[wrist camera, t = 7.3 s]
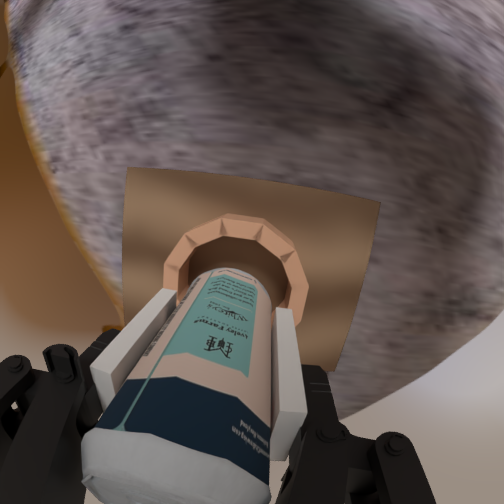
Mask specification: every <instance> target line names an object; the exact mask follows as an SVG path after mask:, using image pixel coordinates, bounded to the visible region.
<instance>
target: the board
mask: <svg viewBox="0 0 504 504" xmlns="http://www.w3.org/2000/svg"><path fill="white" fill-rule="evenodd" d="M380 203H381V202H378V201H373V200H369V199H365V198H360V197H355V196H351V195H346V194H341V193H336V192H331V191H326V190H321V189H315V188H310V187H304V186H299V185H293V184H287V183H280V182H274V181H267V180H261V179H253V178H246V177H238V176H230V175H222V174H213V173H203V172H193V171H182V170H169V169H155V168H137V167H127V176H126V186H125V198H124V213H123V236H122V283H123V306H124V321H125V327H126V326H127V325H128V323H129V322H130V321H131V320H132V319H133V318H134V317H135V316H136V315H137V314H138V313H139V312H140V311H141V310H142V309H143V308H144V307H145V305H146V304H147V303H148V302H149V301H150V300H151V299H152V298H153V297H154V296H155V295H156V294H157V293H158V292H159V291H160V290H161V289H162V288H163V275H164V263H165V261H166V260H167V258H168V257H169V255H170V254H171V252H172V251H173V249H174V248H175V246H176V245H177V244H178V242H179V241H180V239H181V238H182V236H183V235H184V233H186V232H188V231H189V230H191V229H193V228H194V227H196V226H198V225H201V224H203V223H205V222H208V221H210V220H213V219H215V218H217V217H220V216H222V215H225V214H227V213H229V214H237V215H244V216H250V217H257V218H264V219H265V220H266V221H268V222H269V223H270V224H272V225H273V226H274V227H275V228H277V229H278V230H279V231H280V232H282V233H283V234H284V235H285V236H287V237H288V238H289V239H290V240H292V242H293V244H294V247H295V249H296V252H297V254H298V257H299V260H300V263H301V265H302V268H303V271H304V274H305V276H306V279H307V282H308V285H309V289H308V293H307V297H306V302H305V306H304V310H303V314H302V319H301V322H300V323H299V324H298V325H297V326H296V327H295V331H296V338H297V344H298V350H299V357H300V363H301V364H306V365H319V366H320V367H321V368H322V369H323V370H324V371H335V368H336V366H337V363H338V360H339V357H340V355H341V352H342V349H343V346H344V343H345V340H346V337H347V334H348V331H349V328H350V325H351V322H352V319H353V316H354V313H355V309H356V306H357V302H358V299H359V295H360V292H361V288H362V285H363V281H364V277H365V273H366V269H367V265H368V261H369V257H370V253H371V248H372V244H373V239H374V234H375V230H376V225H377V219H378V214H379V208H380ZM217 268H234V269H239V270H241V271H243V272H246V273H248V274H250V275H252V276H253V277H254V278H256V279H257V280H258V281H259V282H260V283H261V284H262V285H263V286H264V288H265V289H266V291H267V293H268V295H269V297H270V300H271V305H272V312H273V311H274V310H275V309H276V307H278V306H279V305H280V304H281V303H282V302H283V300H284V299H285V294H286V289H287V284H288V276H287V274H286V271H285V268H284V266H283V263H282V261H281V260H280V259H279V258H278V257H277V256H275V255H274V254H273V253H272V252H270V251H269V250H268V249H266V248H265V247H264V246H263V245H261V244H260V243H259V242H257V241H256V240H250V239H244V238H237V237H230V236H221V237H219V238H216V239H214V240H211V241H209V242H206V243H204V244H202V245H200V246H199V247H198V249H197V250H196V251H195V253H194V254H193V255H192V257H191V258H190V261H189V275H188V285H189V287H190V285H191V284H192V282H193V281H194V280H195V279H196V278H197V277H198V276H199V275H201V274H203V273H204V272H207V271H210V270H212V269H217Z"/></svg>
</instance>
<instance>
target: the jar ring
mask: <svg viewBox="0 0 504 504" xmlns="http://www.w3.org/2000/svg"><path fill="white" fill-rule="evenodd" d="M221 236H230V237H237V238H244V239H250V240H256V241H257V242H259V243H260V244H261V245H263V246H264V247H265V248H266V249H268V250H269V251H270V252H272V253H273V254H274V255H275V256H277V257H278V258H279V259H280V260H281V261H282V263H283V266H284V268H285V271H286V274H287V276H288V284H287V289H286V294H285V299H284V300H283V302H282V303H281V304H280V305H279V306H278V307H279V308H286V309H292V313H293V319H294V325H295V327H296V326H297V325H298V324H299V323H300V322H301V319H302V314H303V310H304V306H305V302H306V297H307V293H308V289H309V285H308V282H307V279H306V276H305V274H304V271H303V268H302V265H301V263H300V260H299V257H298V254H297V252H296V249H295V247H294V244H293V242H292V240H290V239H289V238H288V237H287V236H285V235H284V234H283V233H282V232H280V231H279V230H278V229H277V228H275V227H274V226H273V225H272V224H270V223H269V222H268V221H266V220H265V219H264V218H257V217H250V216H244V215H237V214H229V213H227V214H225V215H222V216H220V217H217V218H215V219H213V220H210V221H208V222H205V223H203V224H201V225H198V226H196V227H194V228H193V229H191V230H189V231H188V232H186V233H184V235H183V236H182V238H181V239H180V241H179V242H178V244H177V245H176V246H175V248H174V249H173V251H172V252H171V254H170V255H169V257H168V258H167V260H166V261H165V263H164V275H163V288H165V289H170V290H175V291H177V300H176V307H177V306H178V304H179V303H180V302H181V300H182V299H183V297H184V296H185V295H186V293H187V290H188V288H189V285H188V275H189V261H190V258H191V257H192V255H193V254H194V253H195V251H196V250H197V249H198V247H199V246H200V245H202V244H204V243H206V242H209V241H211V240H214V239H216V238H219V237H221ZM275 310H276V309H275ZM275 310H274V311H273V312H272V316H271V330H272V325H273V320H274V315H275Z"/></svg>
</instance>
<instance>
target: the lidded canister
mask: <svg viewBox="0 0 504 504" xmlns="http://www.w3.org/2000/svg"><path fill="white" fill-rule="evenodd" d="M271 316H272V305H271V300H270V297H269V295H268V293H267V291H266V289H265V288H264V286H263V285H262V284H261V283H260V282H259V281H258V280H257V279H256V278H254V277H253V276H252V275H250V274H248V273H246V272H243V271H241V270H239V269H234V268H217V269H212V270H210V271H207V272H204V273H203V274H201V275H199V276H198V277H197V278H196V279H195V280H194V281H193V282H192V284H191V285H190V287H189V288H188V290H187V293H186V295H185V296H184V297H183V299H182V300H181V302H180V303H179V304H178V306H177V307H176V309H175V310H174V311H173V313H172V314H171V315H170V317H169V318H168V320H167V321H166V322H165V324H164V325H163V327H162V328H161V330H160V331H159V332H158V334H157V335H156V337H155V338H154V339H153V341H152V342H151V344H150V345H149V347H148V348H147V349H146V351H145V352H144V354H143V355H142V357H141V358H140V360H139V361H138V362H137V364H136V365H135V367H134V368H133V370H132V371H131V373H130V374H129V376H128V377H127V379H126V380H125V382H124V383H123V384H122V386H121V387H120V389H119V390H118V392H117V393H116V395H115V396H114V398H113V399H112V401H111V402H110V404H109V405H108V407H107V408H106V410H105V412H104V413H103V415H102V416H101V418H100V419H99V421H98V422H97V424H96V425H95V427H94V428H93V429H92V430H90V431H89V432H87V433H85V435H84V437H83V439H82V442H81V456H82V473H83V479H82V481H81V482H82V483H83V484H84V485H85V487H86V488H87V489H88V490H89V491H90V492H91V493H92V494H93V495H94V496H95V497H96V498H97V499H98V500H99V501H101V502H102V503H104V504H269V502H270V501H271V493H270V489H269V468H270V465H269V464H270V418H271Z"/></svg>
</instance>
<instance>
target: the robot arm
mask: <svg viewBox="0 0 504 504" xmlns="http://www.w3.org/2000/svg"><path fill="white" fill-rule="evenodd" d="M176 300H177V291H175V290H170V289H165V288H162V289H161V290H160V291H159V292H158V293H157V294H156V295H155V296H154V297H153V298H152V299H151V300H150V301H149V302H148V303H147V304H146V305H145V307H144V308H143V309H142V310H141V311H140V312H139V313H138V314H137V315H136V316H135V317H134V318H133V319H132V320H131V321H130V322H129V323H128V325H127V326H126V327H125V328H124V329H123V330H122V331H119V330H116V329H110V330H108V331H106V332H104V333H102V334H101V335H100V336H99V337H98V338H97V339H96V341H94V342H93V343H92V344H91V346H90V347H88V348H87V349H86V350H85V351H84V352H83V353H82V354H81V355H80V356H78V353H77V350H76V349H74V348H73V347H71V346H69V345H66V344H56V345H52V346H49V347H47V348H46V349H45V350H44V351H43V356H44V359H45V362H46V365H47V368H48V371H49V372H46V371H41V370H36V369H32V366H31V363H30V360H29V359H28V358H27V357H25V356H22V355H13V356H9V357H8V358H6V359H5V360H3V361H2V362H1V363H0V504H84V499H85V493H86V487H85V485H84V484H83V483H82V482H81V481H82V479H83V473H82V456H81V442H82V439H83V437H84V435H85V433H87V432H89V431H90V430H92V429H93V428H94V427H95V425H96V424H97V422H98V418H99V417H100V416H101V414H102V412H103V413H104V412H105V410H106V408H107V407H108V405H109V404H110V402H111V401H112V399H113V398H114V396H115V395H116V393H117V392H118V390H119V389H120V387H121V386H122V384H123V383H124V382H125V380H126V379H127V377H128V376H129V374H130V373H131V371H132V370H133V368H134V367H135V365H136V364H137V362H138V361H139V360H140V358H141V357H142V355H143V354H144V352H145V351H146V349H147V348H148V347H149V345H150V344H151V342H152V341H153V339H154V338H155V337H156V335H157V334H158V332H159V331H160V330H161V328H162V327H163V325H164V324H165V322H166V321H167V320H168V318H169V317H170V315H171V314H172V313H173V311H174V310H175V309H176ZM14 402H16V404H17V406H18V408H16V409H12V407H11V405H12V404H13V403H14ZM288 455H289V466H288V468H287V470H286V472H285V474H284V476H283V477H282V479H281V481H283V482H282V485H281V488H280V491H279V494H278V497H277V500H276V503H275V504H344V503H345V504H436V502H435V499H434V496H433V493H432V491H431V488H430V485H429V483H428V480H427V478H426V475H425V473H424V470H423V468H422V465H421V463H420V460H419V458H418V456H417V453H416V451H415V449H414V446H413V444H412V442H411V441H410V440H409V438H407V437H406V436H405V435H403V434H401V433H398V432H386V433H383V434H381V435H380V436H379V437H378V438H377V439H376V440H371V439H366V438H361V437H357V436H354V435H352V434H350V432H349V430H348V429H347V428H346V426H345V425H343V424H341V423H340V422H339V420H338V417H337V412H336V408H335V404H334V400H333V397H332V393H331V389H330V385H329V381H328V377H327V374H326V373H325V371H324V370H323V369H322V368H321V367H320V366H319V365H306V364H301V363H300V357H299V350H298V344H297V338H296V331H295V325H294V319H293V313H292V309H286V308H279V307H276V310H275V315H274V320H273V325H272V330H271V418H270V460H272V461H286V459H287V457H288Z"/></svg>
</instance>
